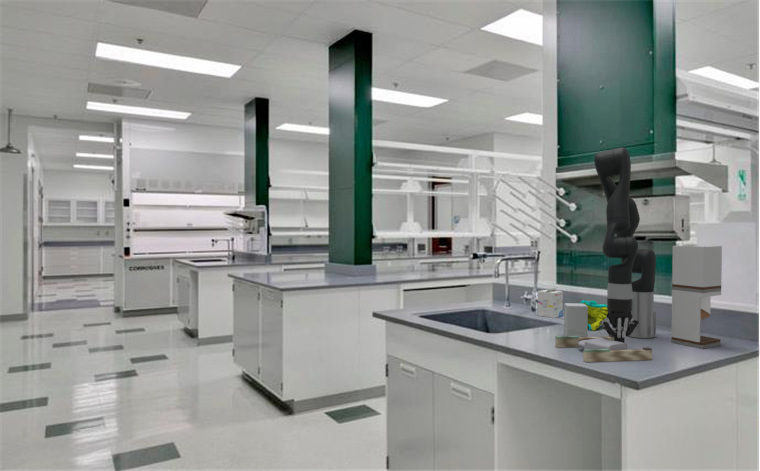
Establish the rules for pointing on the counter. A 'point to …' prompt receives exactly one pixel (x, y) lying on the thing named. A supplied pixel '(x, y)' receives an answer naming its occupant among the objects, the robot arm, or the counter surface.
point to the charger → (602, 344)
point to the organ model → (595, 314)
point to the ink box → (550, 303)
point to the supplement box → (575, 319)
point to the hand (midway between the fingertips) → (619, 348)
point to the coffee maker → (694, 292)
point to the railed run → (603, 350)
